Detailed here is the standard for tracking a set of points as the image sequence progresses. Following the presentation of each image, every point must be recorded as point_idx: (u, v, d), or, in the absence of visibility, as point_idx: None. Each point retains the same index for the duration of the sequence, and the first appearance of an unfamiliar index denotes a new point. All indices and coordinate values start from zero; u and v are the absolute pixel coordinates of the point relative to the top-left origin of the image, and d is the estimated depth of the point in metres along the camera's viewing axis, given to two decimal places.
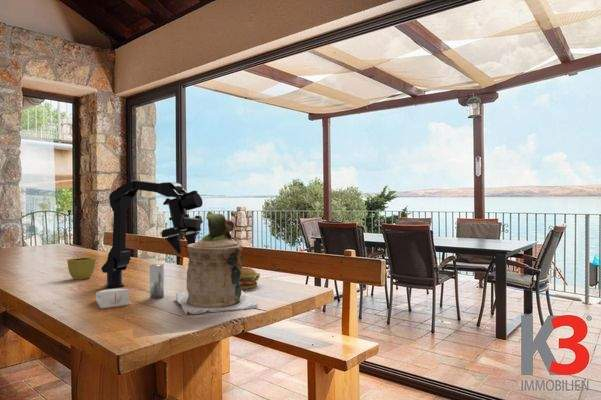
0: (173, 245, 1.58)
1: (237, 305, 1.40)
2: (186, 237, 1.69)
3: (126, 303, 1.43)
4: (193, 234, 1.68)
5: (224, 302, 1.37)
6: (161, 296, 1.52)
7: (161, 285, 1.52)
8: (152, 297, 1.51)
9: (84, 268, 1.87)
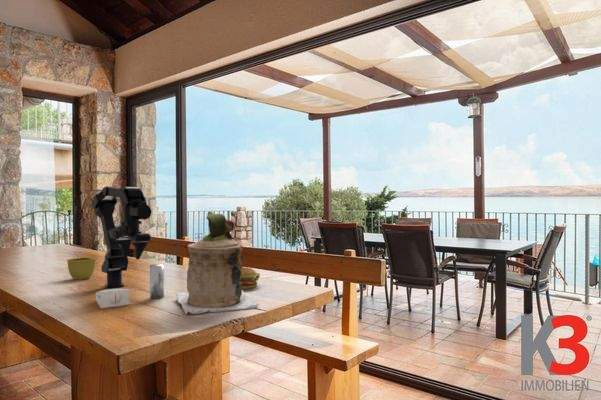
0: None
1: (237, 305, 1.40)
2: None
3: (126, 303, 1.43)
4: None
5: (224, 302, 1.37)
6: (161, 296, 1.52)
7: (161, 285, 1.52)
8: (152, 297, 1.51)
9: (84, 268, 1.87)
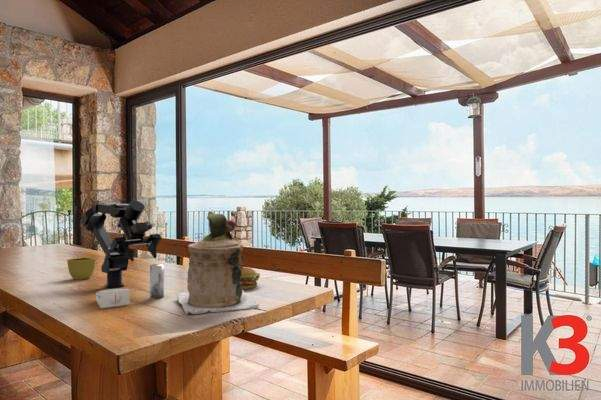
0: (125, 255, 1.56)
1: (238, 305, 1.40)
2: (149, 249, 1.66)
3: (126, 303, 1.43)
4: (152, 242, 1.64)
5: (225, 303, 1.37)
6: (161, 296, 1.52)
7: (161, 285, 1.52)
8: (152, 297, 1.51)
9: (84, 268, 1.87)
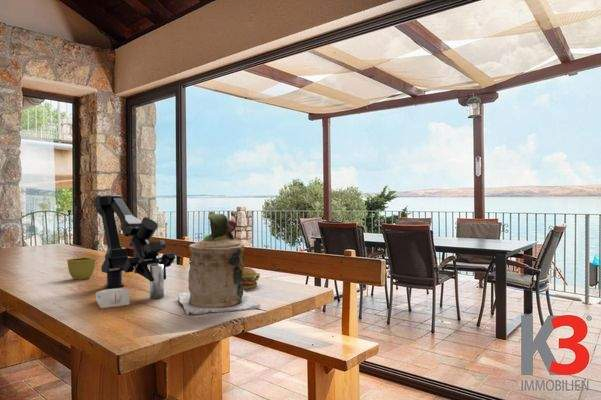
0: (144, 275, 1.52)
1: (239, 305, 1.40)
2: None
3: (126, 303, 1.43)
4: (161, 263, 1.57)
5: (226, 303, 1.37)
6: (161, 296, 1.52)
7: (161, 285, 1.52)
8: (152, 297, 1.51)
9: (84, 268, 1.87)
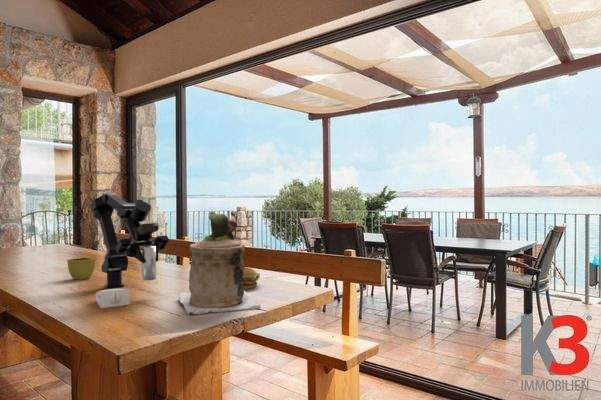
0: (136, 257, 1.52)
1: (240, 305, 1.39)
2: None
3: (126, 303, 1.43)
4: (154, 245, 1.57)
5: (226, 303, 1.37)
6: (153, 278, 1.52)
7: (153, 267, 1.52)
8: (144, 278, 1.51)
9: (84, 268, 1.87)
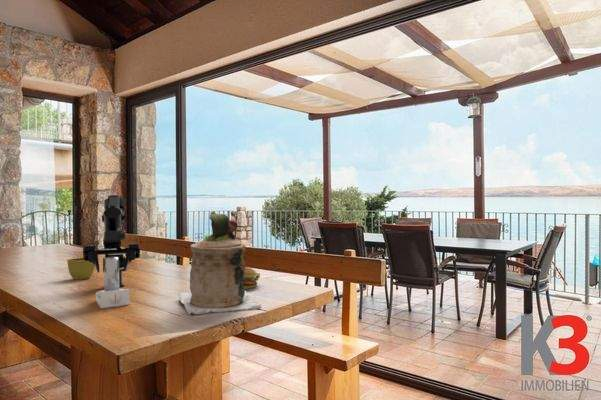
0: (95, 265, 1.46)
1: (240, 305, 1.39)
2: None
3: (126, 303, 1.43)
4: (126, 253, 1.50)
5: (227, 303, 1.37)
6: None
7: (112, 279, 1.45)
8: None
9: (84, 268, 1.87)
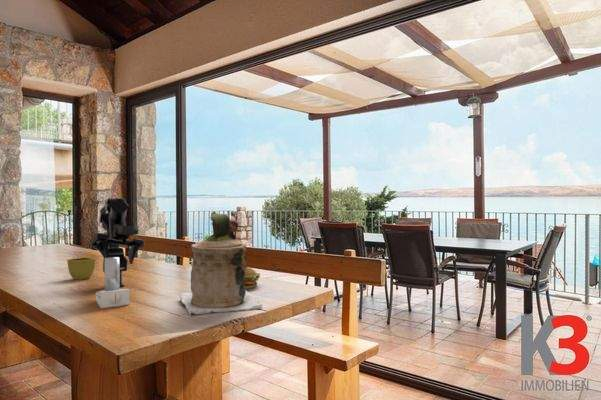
0: (102, 253, 1.54)
1: (241, 305, 1.39)
2: (128, 252, 1.63)
3: (126, 303, 1.43)
4: (133, 247, 1.62)
5: (228, 303, 1.37)
6: None
7: (113, 279, 1.45)
8: None
9: (84, 268, 1.87)
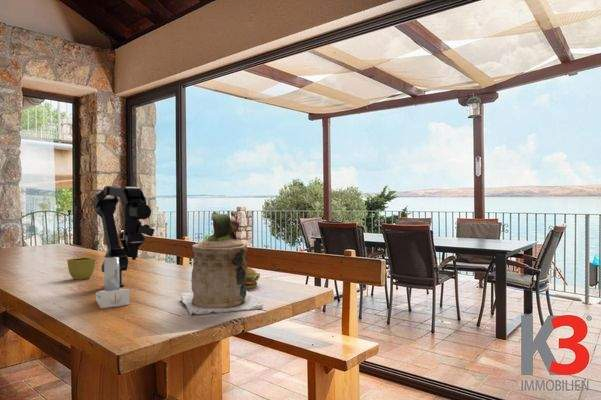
0: (131, 251, 1.57)
1: (242, 305, 1.39)
2: (124, 242, 1.66)
3: (126, 303, 1.43)
4: None
5: (229, 303, 1.36)
6: None
7: (113, 279, 1.45)
8: None
9: (84, 268, 1.87)
